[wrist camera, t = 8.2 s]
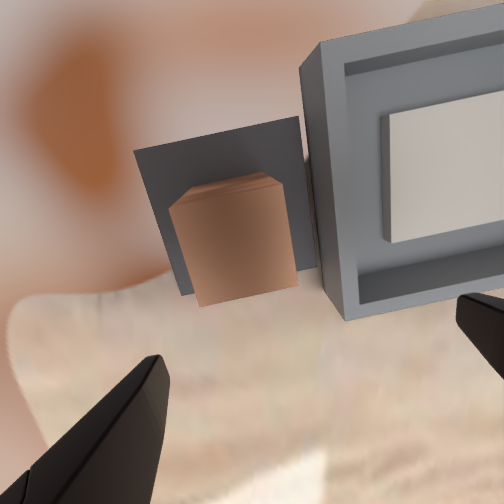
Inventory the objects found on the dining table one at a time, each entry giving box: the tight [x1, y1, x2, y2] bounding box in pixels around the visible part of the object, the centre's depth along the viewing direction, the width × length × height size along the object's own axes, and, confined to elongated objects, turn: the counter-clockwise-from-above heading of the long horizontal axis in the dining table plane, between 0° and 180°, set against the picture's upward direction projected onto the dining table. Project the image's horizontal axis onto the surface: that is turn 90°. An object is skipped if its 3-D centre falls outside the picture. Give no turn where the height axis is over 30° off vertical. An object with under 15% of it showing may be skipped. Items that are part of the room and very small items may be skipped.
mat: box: [133, 116, 317, 296], centre depth 18 cm, size 10×10×1 cm
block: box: [169, 172, 299, 307], centre depth 15 cm, size 4×4×7 cm
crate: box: [299, 3, 504, 321], centre depth 17 cm, size 17×15×4 cm
